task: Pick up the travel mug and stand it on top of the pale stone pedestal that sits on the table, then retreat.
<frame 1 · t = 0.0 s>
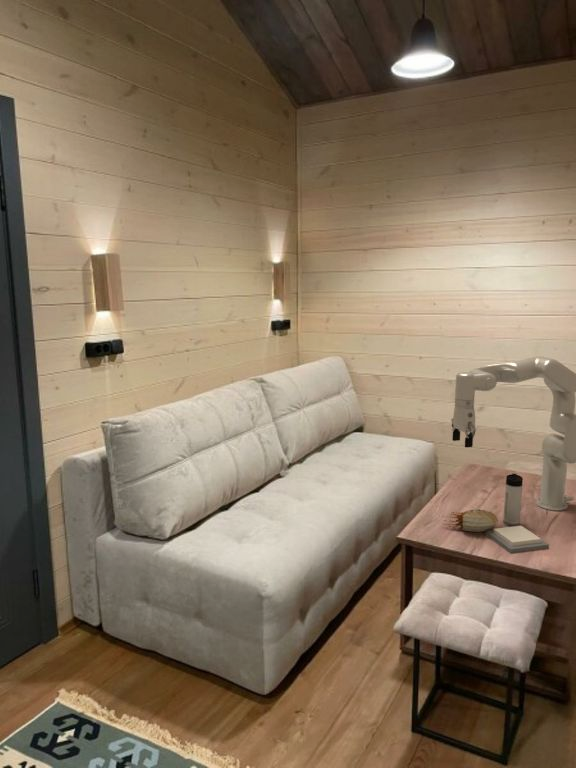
hand: (462, 443, 240), 31 cm above the table, fingers open, 9 cm apart
pedestal: (516, 541, 222), on the table
travel mug: (511, 523, 238), on the table
nautilus shell: (469, 528, 233), on the table, touching pedestal
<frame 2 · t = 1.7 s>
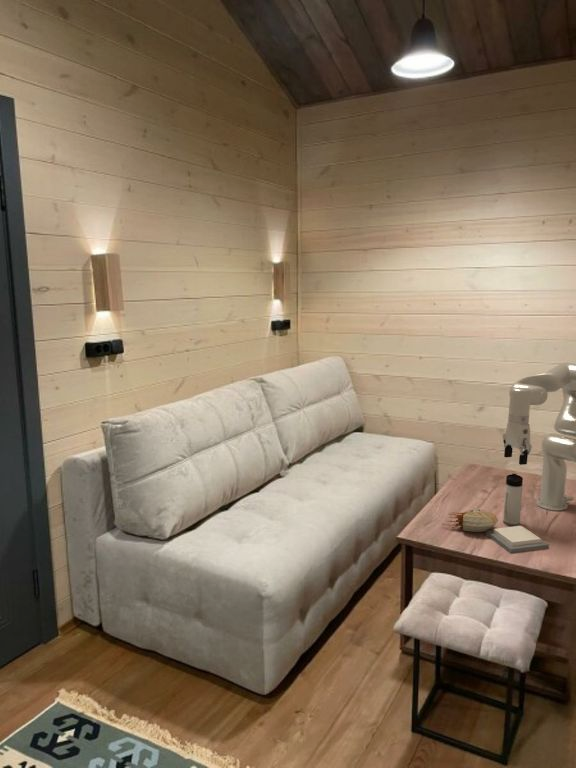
hand: (515, 460, 233), 27 cm above the table, fingers open, 9 cm apart
nautilus shell: (469, 529, 233), on the table
everything else where it was.
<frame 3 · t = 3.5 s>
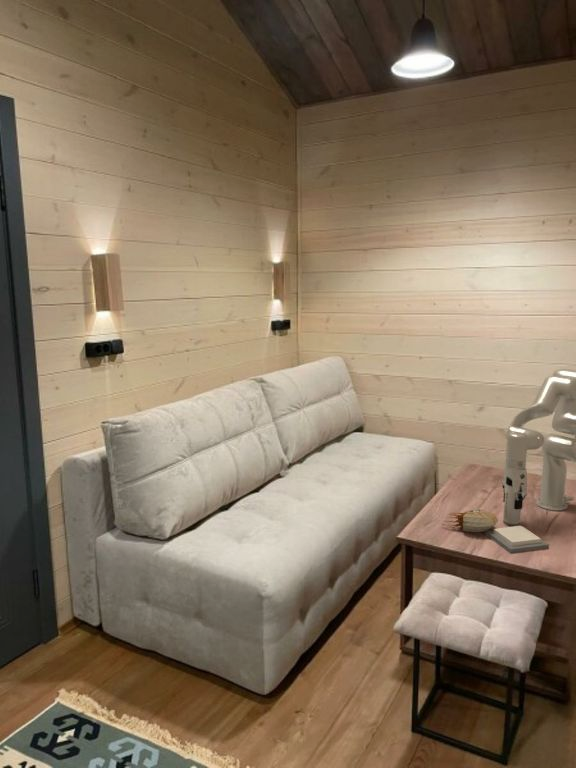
hand: (512, 505, 237), 8 cm above the table, fingers open, 6 cm apart
travel mug: (511, 523, 238), on the table, touching gripper
nautilus shell: (469, 529, 233), on the table, touching pedestal
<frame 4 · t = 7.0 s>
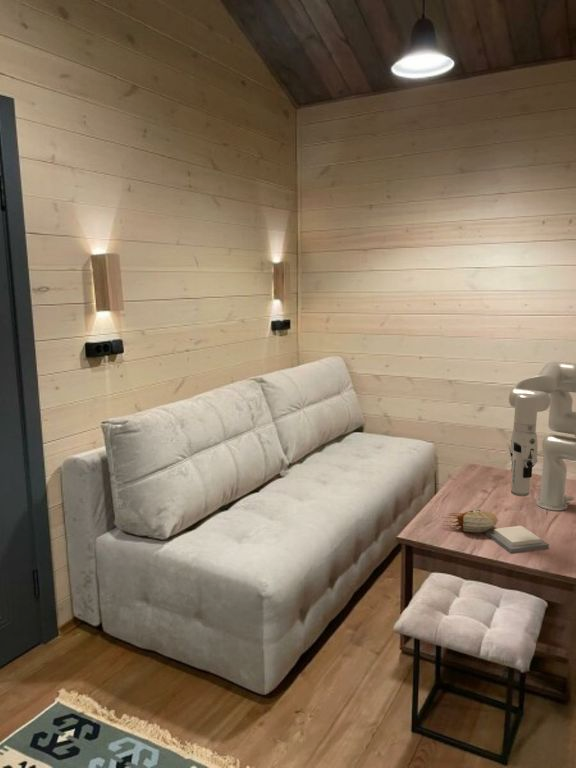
hand: (521, 473, 217), 27 cm above the table, fingers closed on travel mug, 6 cm apart
travel mug: (519, 493, 218), point 19 cm above the table, touching gripper
everything else where it was.
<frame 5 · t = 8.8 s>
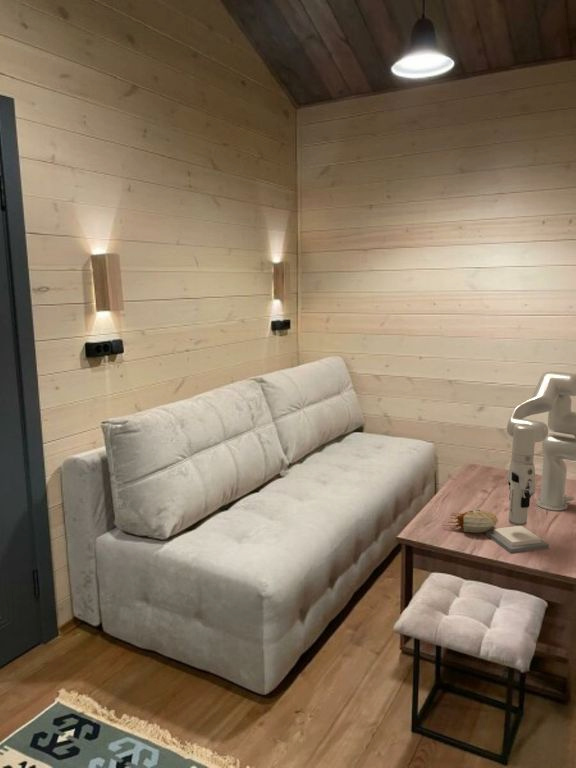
hand: (519, 503, 219), 15 cm above the table, fingers closed on travel mug, 6 cm apart
travel mug: (517, 522, 220), point 7 cm above the table, touching gripper
everything else where it was.
when the fingers open (12 cm above the table, at t = 10.0 s): travel mug drops 1 cm, resting on pedestal.
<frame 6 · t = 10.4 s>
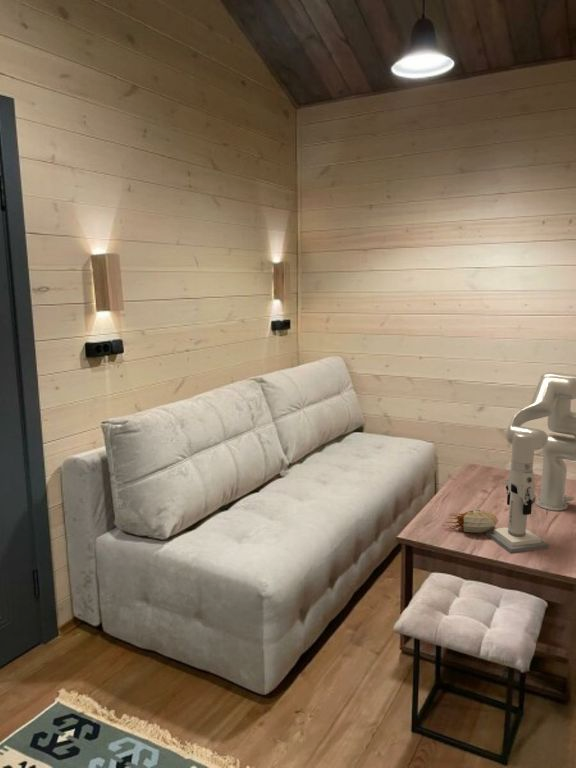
hand: (518, 509, 219), 13 cm above the table, fingers open, 9 cm apart
travel mug: (516, 533, 222), point 3 cm above the table, touching pedestal
everything else where it was.
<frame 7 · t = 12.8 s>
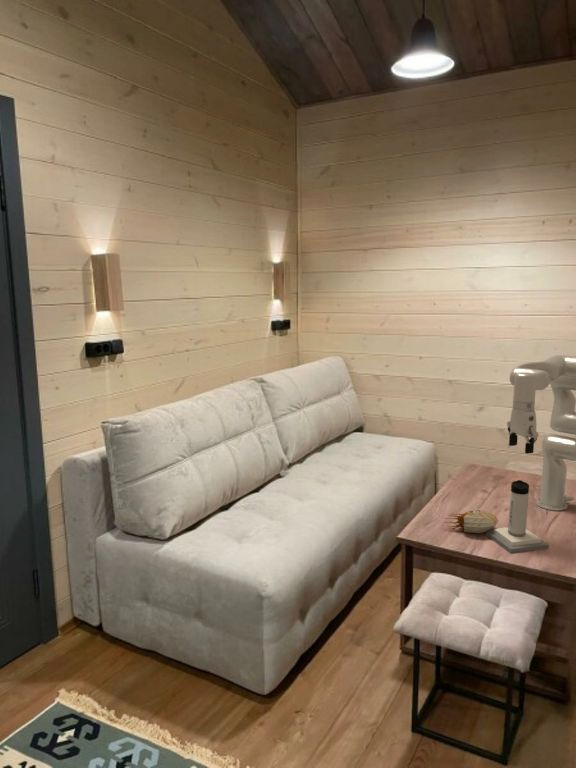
hand: (520, 449, 222), 34 cm above the table, fingers open, 9 cm apart
nautilus shell: (469, 529, 232), on the table
everything else where it was.
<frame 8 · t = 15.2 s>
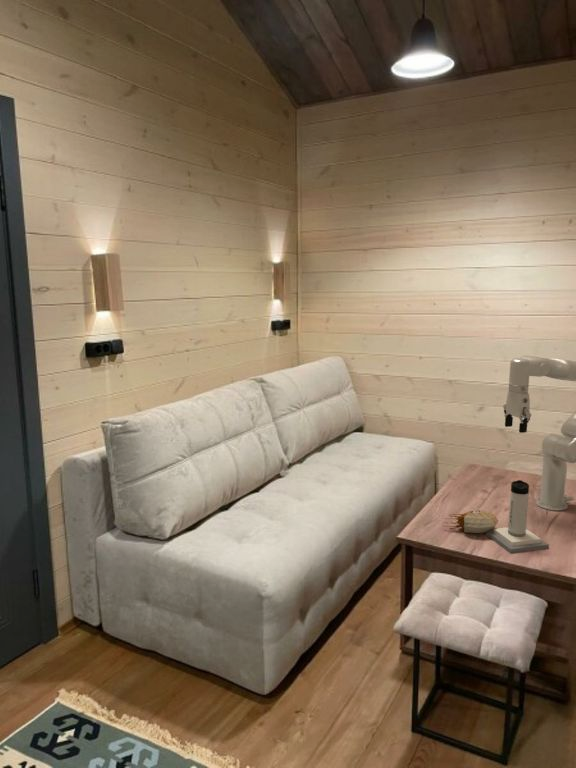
hand: (515, 429, 242), 36 cm above the table, fingers open, 9 cm apart
nautilus shell: (469, 530, 232), on the table, touching pedestal
everything else where it was.
at the end: travel mug inside the target area on the pedestal (0.5 cm from its centre), point 2.8 cm above the pedestal's base; travel mug tilted 0°; the gripper is holding nothing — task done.
